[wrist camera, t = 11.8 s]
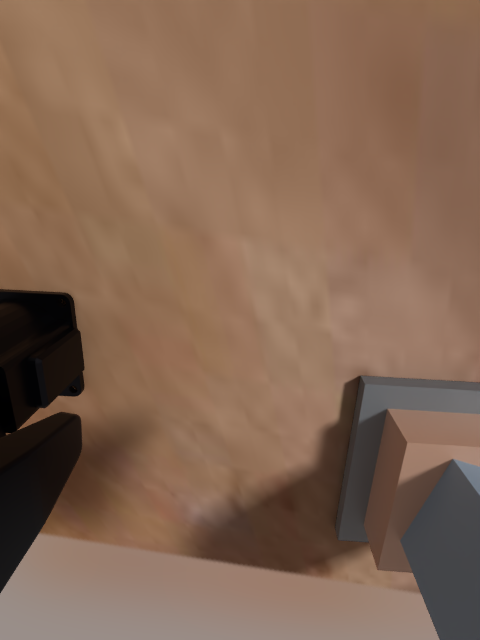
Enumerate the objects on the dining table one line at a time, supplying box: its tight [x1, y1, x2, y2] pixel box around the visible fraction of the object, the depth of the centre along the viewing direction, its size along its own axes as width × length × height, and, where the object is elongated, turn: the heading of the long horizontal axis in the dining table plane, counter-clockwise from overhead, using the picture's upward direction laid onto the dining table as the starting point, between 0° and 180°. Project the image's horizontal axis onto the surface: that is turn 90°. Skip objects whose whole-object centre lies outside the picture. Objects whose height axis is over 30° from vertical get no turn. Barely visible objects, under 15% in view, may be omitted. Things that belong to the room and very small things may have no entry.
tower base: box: [335, 376, 480, 573], centre depth 21 cm, size 12×12×4 cm
